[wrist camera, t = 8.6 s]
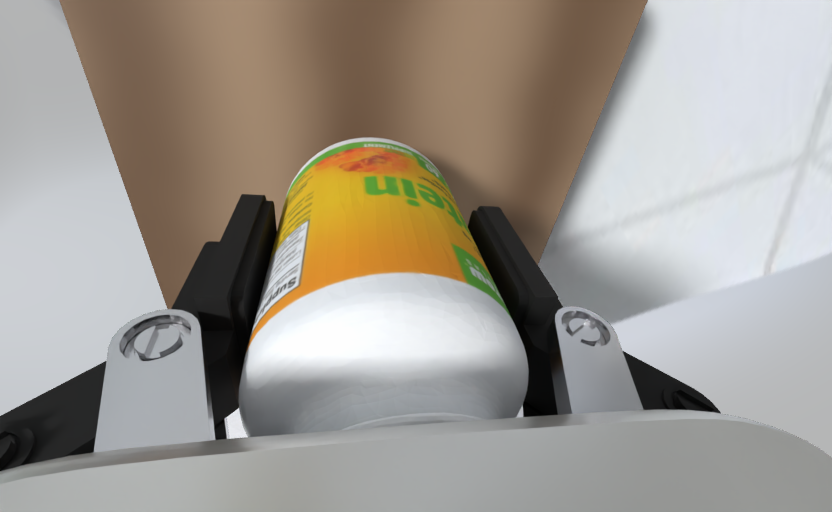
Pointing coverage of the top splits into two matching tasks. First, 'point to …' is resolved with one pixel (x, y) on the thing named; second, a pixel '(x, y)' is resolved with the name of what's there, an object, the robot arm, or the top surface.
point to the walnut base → (343, 100)
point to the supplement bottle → (377, 305)
